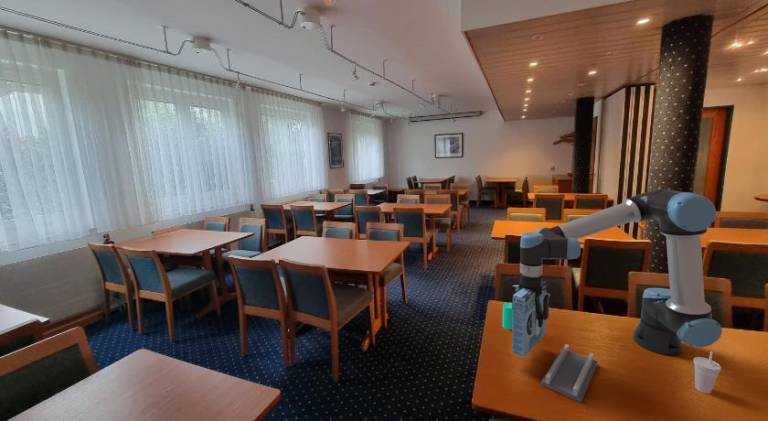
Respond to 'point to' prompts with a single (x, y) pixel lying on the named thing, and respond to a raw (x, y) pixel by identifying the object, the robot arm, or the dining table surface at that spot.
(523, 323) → the gum box
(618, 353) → the dining table surface
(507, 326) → the candle
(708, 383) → the smoothie
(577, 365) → the door track
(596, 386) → the dining table surface
